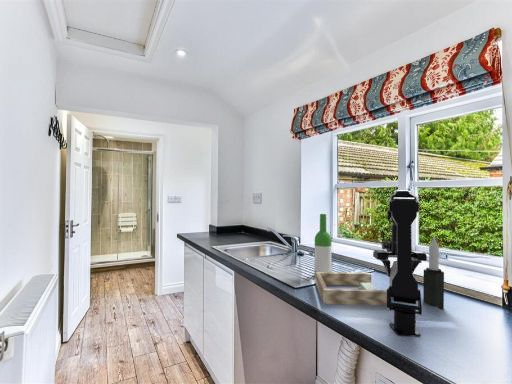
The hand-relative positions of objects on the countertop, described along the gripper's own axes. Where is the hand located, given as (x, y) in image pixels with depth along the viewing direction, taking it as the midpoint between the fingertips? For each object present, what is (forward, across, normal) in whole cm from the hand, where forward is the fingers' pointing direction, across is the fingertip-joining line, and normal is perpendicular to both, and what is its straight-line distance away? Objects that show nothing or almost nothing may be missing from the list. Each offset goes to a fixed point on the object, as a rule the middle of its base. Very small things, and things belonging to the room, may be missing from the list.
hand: (399, 276), depth 116 cm
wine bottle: (+7, +27, -19) cm, 34 cm away
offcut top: (+6, +12, +4) cm, 14 cm away
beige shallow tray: (+7, +20, +4) cm, 22 cm away
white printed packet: (+4, 0, 0) cm, 4 cm away
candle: (+7, -7, +12) cm, 15 cm away
